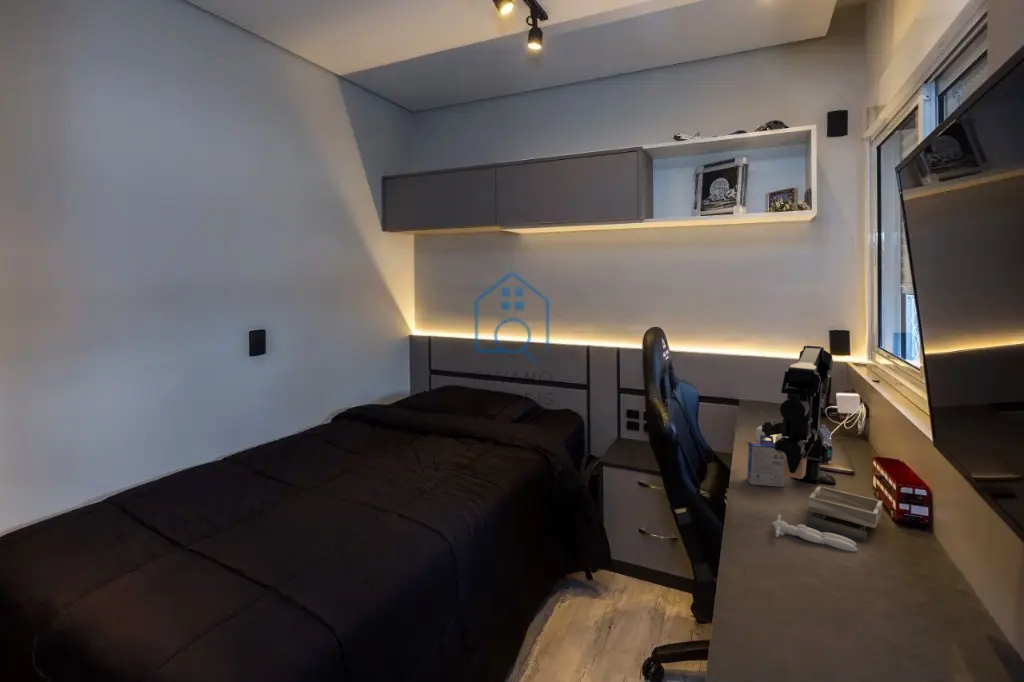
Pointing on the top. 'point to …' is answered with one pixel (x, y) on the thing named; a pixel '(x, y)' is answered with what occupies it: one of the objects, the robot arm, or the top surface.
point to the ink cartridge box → (765, 463)
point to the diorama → (778, 436)
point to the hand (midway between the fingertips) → (794, 470)
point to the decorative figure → (814, 535)
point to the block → (799, 471)
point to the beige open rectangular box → (845, 506)
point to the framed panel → (838, 528)
